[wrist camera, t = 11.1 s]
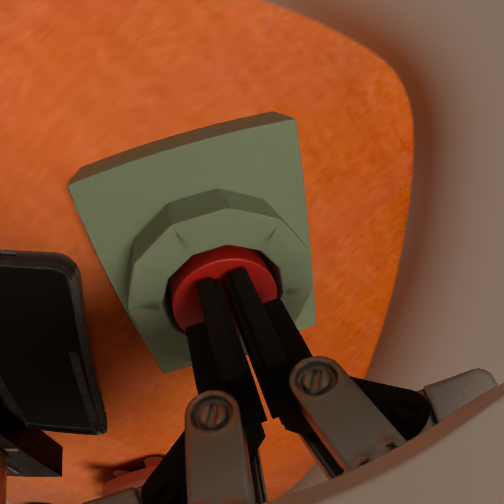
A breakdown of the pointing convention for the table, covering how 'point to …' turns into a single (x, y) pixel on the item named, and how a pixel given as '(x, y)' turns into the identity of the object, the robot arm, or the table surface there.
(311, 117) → the table surface
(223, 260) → the button
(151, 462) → the teapot
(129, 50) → the table surface
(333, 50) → the table surface
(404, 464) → the robot arm
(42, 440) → the dial panel
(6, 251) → the phone
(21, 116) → the table surface
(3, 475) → the dial
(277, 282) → the button box
